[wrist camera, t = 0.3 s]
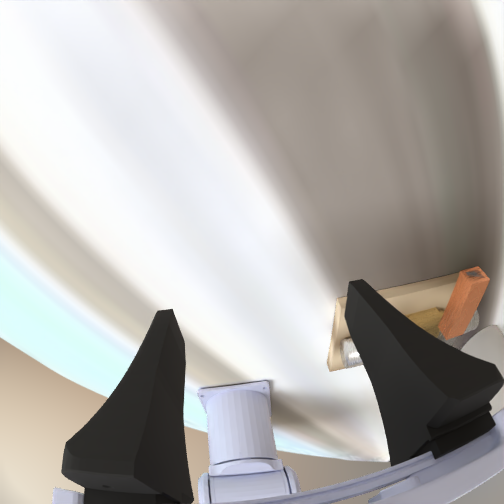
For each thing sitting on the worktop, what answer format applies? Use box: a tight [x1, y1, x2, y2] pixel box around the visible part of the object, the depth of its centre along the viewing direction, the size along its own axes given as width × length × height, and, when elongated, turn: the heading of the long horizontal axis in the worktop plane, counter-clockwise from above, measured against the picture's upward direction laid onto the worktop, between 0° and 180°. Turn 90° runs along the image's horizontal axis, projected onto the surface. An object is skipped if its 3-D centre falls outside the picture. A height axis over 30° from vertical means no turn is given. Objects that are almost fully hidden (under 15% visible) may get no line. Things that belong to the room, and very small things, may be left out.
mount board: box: [327, 272, 460, 372], centre depth 30 cm, size 10×17×1 cm, turn 95°
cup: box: [461, 325, 504, 416], centre depth 34 cm, size 8×8×12 cm
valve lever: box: [437, 266, 490, 346], centre depth 23 cm, size 12×2×2 cm, turn 5°
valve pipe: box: [340, 307, 479, 369], centre depth 28 cm, size 4×16×4 cm, turn 95°
